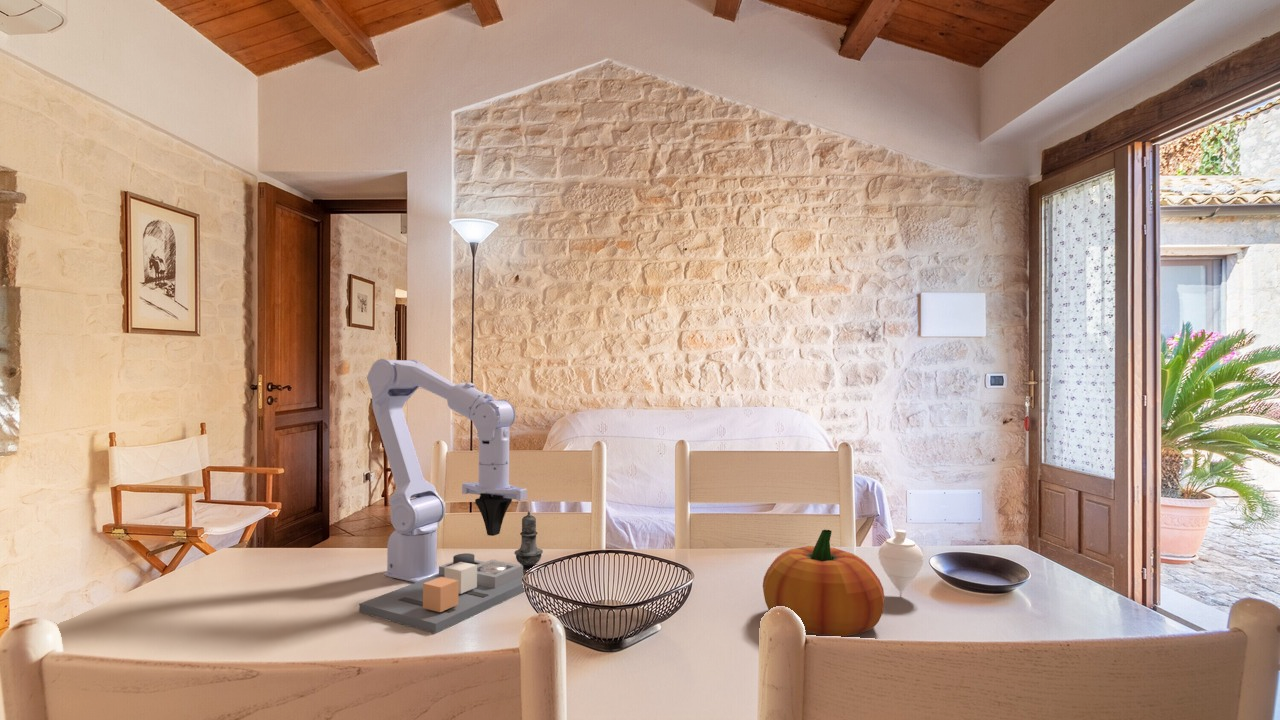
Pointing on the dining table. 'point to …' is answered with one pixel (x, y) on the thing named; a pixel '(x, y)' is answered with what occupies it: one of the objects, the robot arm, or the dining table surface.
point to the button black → (464, 558)
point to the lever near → (440, 594)
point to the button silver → (493, 568)
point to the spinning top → (900, 560)
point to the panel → (488, 593)
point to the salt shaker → (528, 544)
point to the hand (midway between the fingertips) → (493, 534)
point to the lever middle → (462, 575)
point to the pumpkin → (825, 589)
